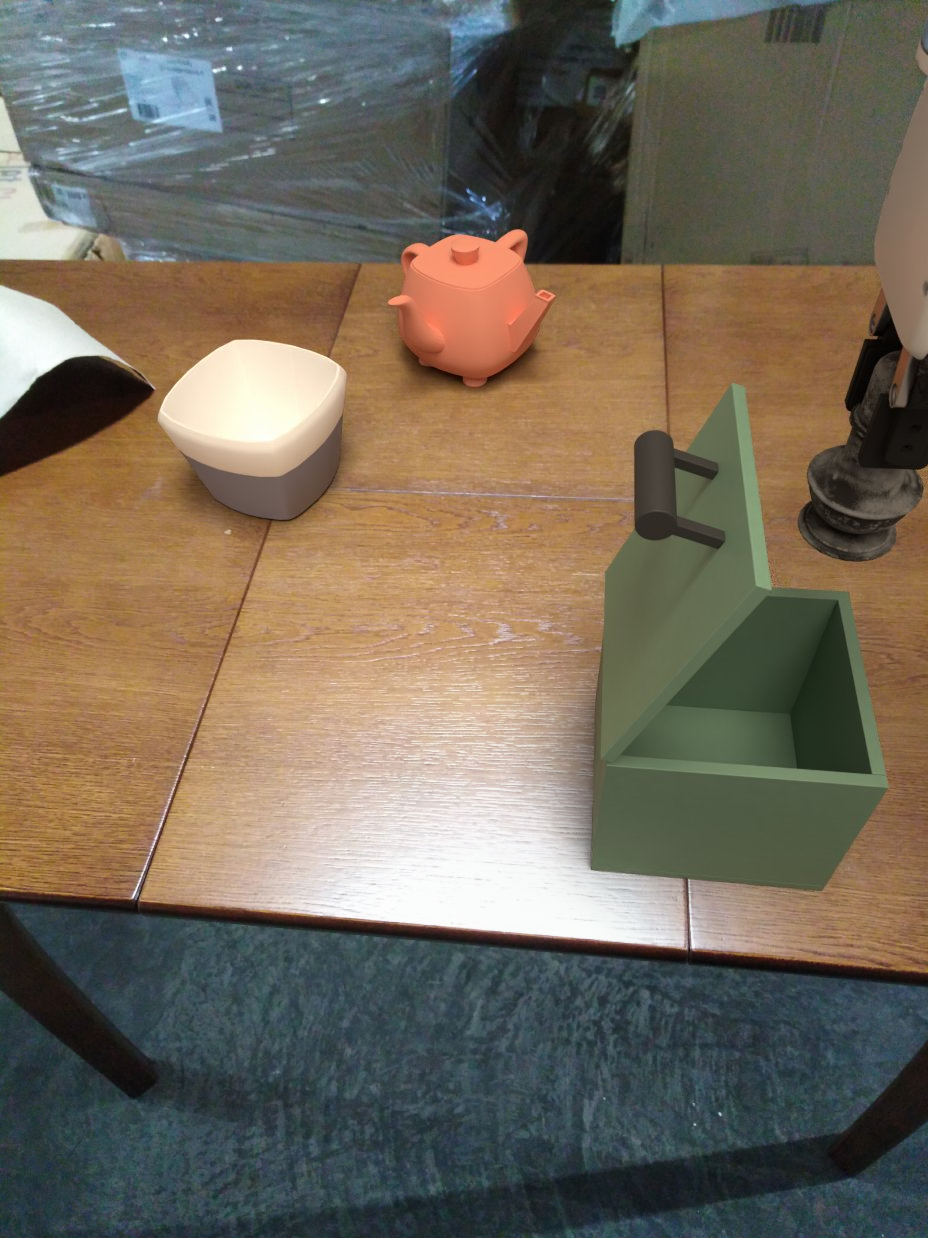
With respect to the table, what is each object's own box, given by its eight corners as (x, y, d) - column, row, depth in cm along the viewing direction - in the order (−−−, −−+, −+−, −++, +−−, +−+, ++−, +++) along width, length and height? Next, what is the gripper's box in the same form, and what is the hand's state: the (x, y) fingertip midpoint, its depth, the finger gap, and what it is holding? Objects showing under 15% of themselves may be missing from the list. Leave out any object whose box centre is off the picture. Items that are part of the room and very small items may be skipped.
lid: (745, 386, 48) (654, 354, 47) (772, 590, 39) (661, 555, 38) (615, 575, 60) (542, 552, 59) (613, 763, 51) (526, 740, 50)
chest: (796, 712, 70) (848, 591, 59) (822, 891, 61) (889, 787, 50) (595, 698, 72) (609, 577, 61) (590, 870, 62) (605, 765, 51)
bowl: (169, 508, 88) (131, 417, 80) (255, 418, 97) (229, 326, 88) (301, 551, 84) (276, 459, 75) (379, 452, 92) (365, 359, 84)
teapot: (555, 388, 98) (558, 273, 87) (401, 410, 97) (387, 296, 86) (525, 310, 108) (525, 198, 98) (386, 329, 107) (371, 218, 97)
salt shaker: (901, 500, 51) (982, 312, 42) (903, 573, 48) (992, 385, 39) (794, 485, 53) (851, 299, 43) (789, 555, 49) (849, 369, 40)
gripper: (1266, 114, 26) (1003, 558, 40) (1084, -54, 36) (927, 344, 50) (987, 115, 26) (827, 550, 40) (889, -49, 37) (788, 341, 51)
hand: (883, 433), depth 45 cm, fingers closed on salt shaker, 3 cm apart
